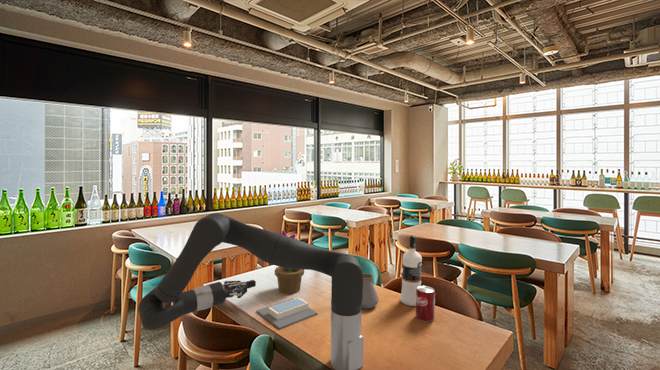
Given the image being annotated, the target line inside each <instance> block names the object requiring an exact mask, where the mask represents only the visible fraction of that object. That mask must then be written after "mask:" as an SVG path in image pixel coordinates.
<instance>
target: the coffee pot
mask: <svg viewBox="0 0 660 370" xmlns="http://www.w3.org/2000/svg"><path fill="white" fill-rule="evenodd" d="M373 279H374V276H373V275H372V274H370V273H363V301H362V305H361V309H363V310H364V309H365V310H368V309H372V308H374V307H375V306H376V305H378V303H379V301H380V299H379V296H378V294H377V291H376V288H375V286H374V283H373V281H372V280H373Z"/></svg>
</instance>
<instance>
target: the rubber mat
mask: <svg viewBox="0 0 660 370" xmlns="http://www.w3.org/2000/svg"><path fill="white" fill-rule="evenodd" d="M293 299H294V298H292V297H291V298H290V299H287V300H283V301H281V302H277V303H274V304H272V305H269V306H265V307H263V308H260V309H257V310H256V313H258V315H260V316H261V317H262V318H264V319H265V320H267V321H269V323H270V324H272V325H274V326H275V327H276V328H277V329H278V330H281V329H284V328H286V327H289V326H291V325H294V324H297V323H299V322H302V321H304V320H307V319H309V318H311V317H314V316H317V315H318V312H317V311H315V310H313V309H312V308H310V307H308V309H306V310H303V311H300V312H298V313H295V314H292V315H290V316H287V317H284V318H282V319H279V320H277V319H276V318H274V317H273V316H271V315H270V314H269V313H268V308H269V307H272V306H275V305H278V304H281V303H284V302H287V301H290V300H293Z"/></svg>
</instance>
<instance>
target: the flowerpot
mask: <svg viewBox="0 0 660 370" xmlns="http://www.w3.org/2000/svg"><path fill="white" fill-rule="evenodd" d="M280 234H281V235H284V236H288V235H287V232H286V231H285V230H281V233H280ZM289 237H291V238H294V239H296V234H292V235H290V236H289ZM304 275H305V269H287V268H282V267H279V266H276V267H275V269H274V276H276V278H277V286H278V291H279V292H280V294H283V295H293V294H297V293H299V292H300V291H301V287H302V284H301V283H302V278H303V276H304Z"/></svg>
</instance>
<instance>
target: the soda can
mask: <svg viewBox="0 0 660 370" xmlns="http://www.w3.org/2000/svg"><path fill="white" fill-rule="evenodd" d="M435 304H436V291H435V289H434V287H431V286H427V285H421V286H419V287H417V288H416V306H415V315H414V316H415V317H416V319H417V320H419V321H420V322H423V323H424V322H425V323H430V322H432V321H434V320H435V308H436V305H435Z"/></svg>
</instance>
